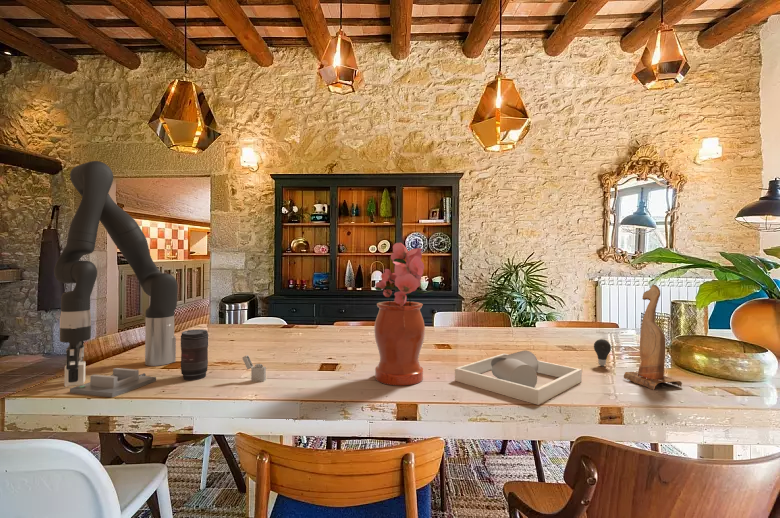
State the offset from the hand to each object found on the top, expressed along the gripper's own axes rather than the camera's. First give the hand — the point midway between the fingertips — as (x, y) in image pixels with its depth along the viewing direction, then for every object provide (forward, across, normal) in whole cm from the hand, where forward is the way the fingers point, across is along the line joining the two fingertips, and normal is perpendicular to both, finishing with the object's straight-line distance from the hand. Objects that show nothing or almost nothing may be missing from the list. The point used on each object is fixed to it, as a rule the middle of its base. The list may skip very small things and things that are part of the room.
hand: (75, 378), depth 120 cm
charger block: (+2, 0, 0) cm, 2 cm away
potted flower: (+2, +47, +91) cm, 102 cm away
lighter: (+2, +25, +48) cm, 54 cm away
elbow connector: (+2, +69, +120) cm, 139 cm away
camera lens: (+2, +12, +32) cm, 34 cm away
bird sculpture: (+2, +93, +156) cm, 181 cm away
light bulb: (+2, +73, +162) cm, 178 cm away
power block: (+1, +9, +12) cm, 15 cm away
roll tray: (+1, +69, +120) cm, 139 cm away
